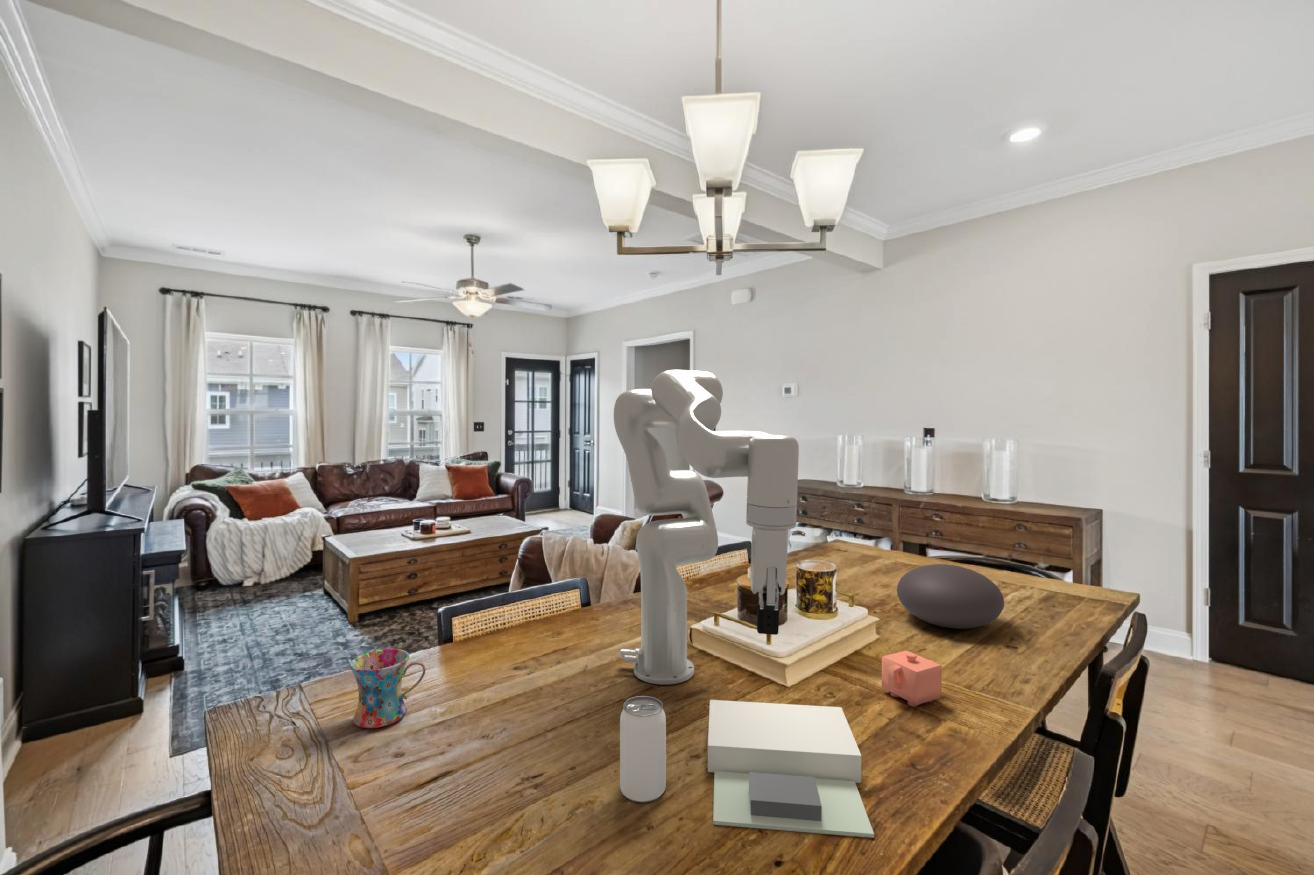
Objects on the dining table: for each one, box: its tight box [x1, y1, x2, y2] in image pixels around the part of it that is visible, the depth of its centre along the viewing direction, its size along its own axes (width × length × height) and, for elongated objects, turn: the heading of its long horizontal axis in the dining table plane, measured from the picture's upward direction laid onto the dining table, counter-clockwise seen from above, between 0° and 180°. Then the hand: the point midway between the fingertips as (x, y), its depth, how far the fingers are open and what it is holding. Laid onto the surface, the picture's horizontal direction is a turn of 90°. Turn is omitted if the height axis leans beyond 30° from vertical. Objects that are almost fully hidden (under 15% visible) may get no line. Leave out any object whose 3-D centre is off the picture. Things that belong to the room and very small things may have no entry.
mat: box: [712, 771, 875, 839], centre depth 77 cm, size 20×10×1 cm, turn 83°
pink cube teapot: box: [881, 649, 943, 708], centre depth 108 cm, size 8×12×8 cm, turn 116°
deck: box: [707, 699, 862, 784], centre depth 90 cm, size 22×14×4 cm, turn 83°
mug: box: [349, 648, 427, 729], centre depth 100 cm, size 12×9×11 cm
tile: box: [749, 772, 822, 821], centre depth 77 cm, size 9×6×2 cm, turn 83°
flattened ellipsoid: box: [896, 563, 1005, 630], centre depth 147 cm, size 25×25×15 cm
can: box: [619, 695, 667, 804], centre depth 80 cm, size 6×6×12 cm
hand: (767, 631), depth 88 cm, fingers closed
